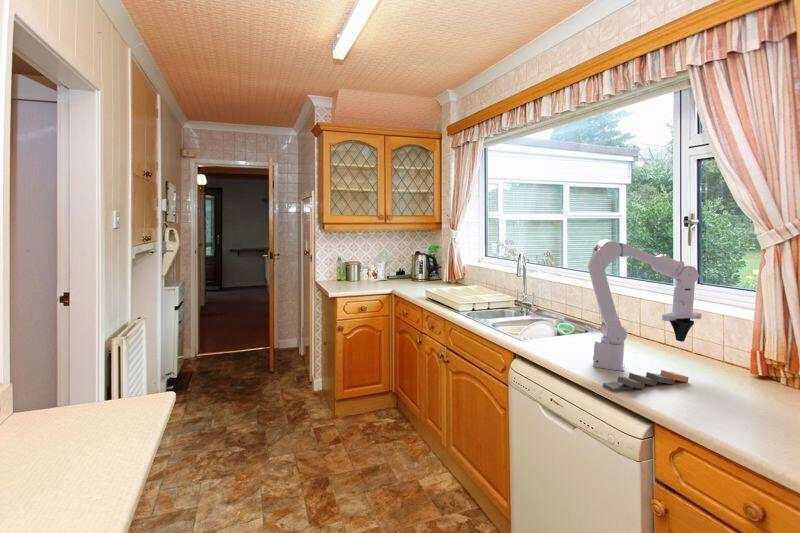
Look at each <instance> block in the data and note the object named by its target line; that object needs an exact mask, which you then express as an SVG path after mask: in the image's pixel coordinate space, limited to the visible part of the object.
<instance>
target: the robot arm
mask: <svg viewBox="0 0 800 533" xmlns="http://www.w3.org/2000/svg"><path fill="white" fill-rule="evenodd" d="M619 257H620V258H625V257H631V258H633V259H635V260H637V261H640V262H642V263H646V264H649V265H650V267H651V269H652V271H654V272H657V273H660V274H662V275H665V276H667V277H669V278H673V279H674V285H673V296H672V308H671V309H672V310H671V311H672V312H669V313H663V314H662V316H661V320H662V321H665V322H669V323H670V324H671V326H672V329H673V331H674V336H675V340H676V341H677V342H681V343H682V342H685V340H686V338H687V335H688V333H689V331H690V330H691V328H692V327H693V325H695V321H694V319H695V320H697V319H698V320H701V319H702V313H701V312H698V311H694V312H693V310H694V298H695V284H696V282H697V281H698V280H699V278H700V274H699V271H698V270H697V268H696V267H695V266H693V265H689V264H685V262H684V261H682V260H676V259H673V258H671V256H670V255H669V254H667V253H665V254H664V255H663V254H658V255H653V254H651V253H648V252H646V251H644V250H642V249H639V248H637V247H635V246H633V245H630V244H627V243H623V242H618V241H615V240H609V239H601V240H599V241H598V242H597V243H596V245H595V246H594V247H593V248H592V253H591V255H590V259H589V262H588V265H587V268H588V272H589V276H590V277H589V278H590V280H591V283H592V286H593V287H592V288H593V290H594V294H595V299H596V302H597V306H598V309H599V313H600V322H601V325H600V332H601V334H603V335H602V337H601V338H600V339H595V340H594V346H593V355H592V361H593V362H592V367H594V368H600V369H606V370H612V371H621V372H624V370H625V363H624V355H625V354H624V352H625V340H626V339H627V336H628V334H627V333H628V332H627V330H626V329H625V327H624V326H622V323H621V320H620V318H619V316H618V313H617V311H616V308H615V303H614V300H613V296H612V293H611V288H610V286H609V285H610V284H609V281H608V277H607V275H606V269H607V268H608V266H609V265H610V264H611V263H612V262H613V261H615V260H617V259H618V258H619Z"/></svg>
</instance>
